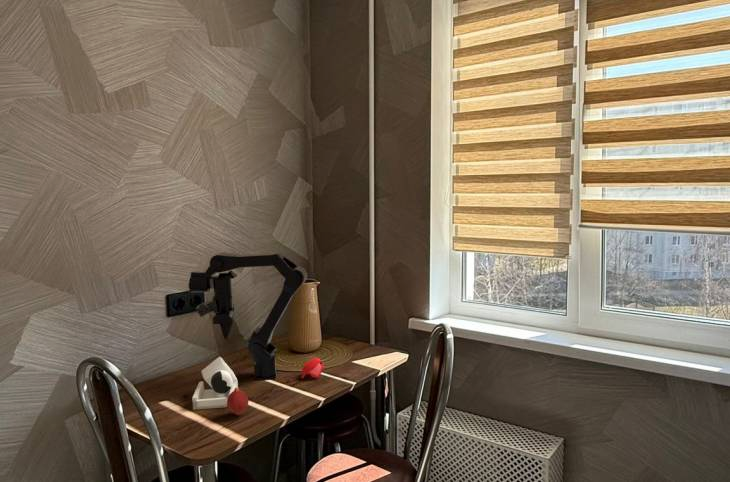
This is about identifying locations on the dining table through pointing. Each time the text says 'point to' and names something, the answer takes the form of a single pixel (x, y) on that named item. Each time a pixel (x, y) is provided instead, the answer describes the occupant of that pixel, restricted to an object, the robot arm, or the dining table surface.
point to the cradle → (210, 397)
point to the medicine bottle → (219, 376)
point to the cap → (313, 368)
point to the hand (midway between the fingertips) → (225, 338)
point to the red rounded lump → (237, 401)
